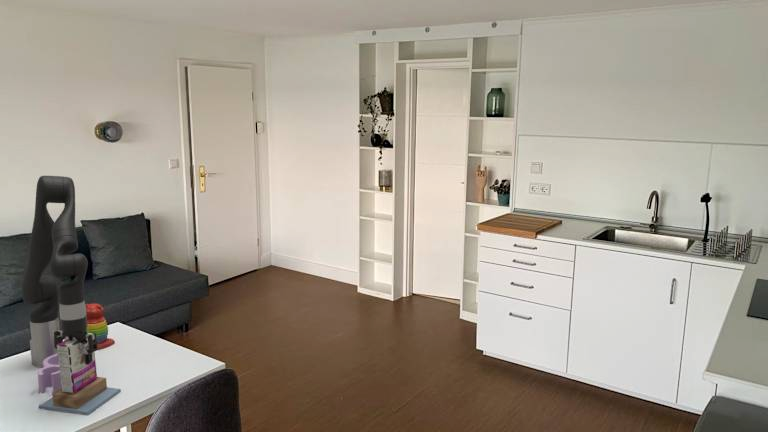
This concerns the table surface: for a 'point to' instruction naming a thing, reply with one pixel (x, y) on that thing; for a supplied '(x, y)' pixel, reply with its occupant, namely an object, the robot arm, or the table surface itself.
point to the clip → (49, 374)
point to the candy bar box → (74, 367)
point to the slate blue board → (87, 407)
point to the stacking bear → (98, 325)
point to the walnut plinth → (79, 394)
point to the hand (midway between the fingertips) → (77, 362)
